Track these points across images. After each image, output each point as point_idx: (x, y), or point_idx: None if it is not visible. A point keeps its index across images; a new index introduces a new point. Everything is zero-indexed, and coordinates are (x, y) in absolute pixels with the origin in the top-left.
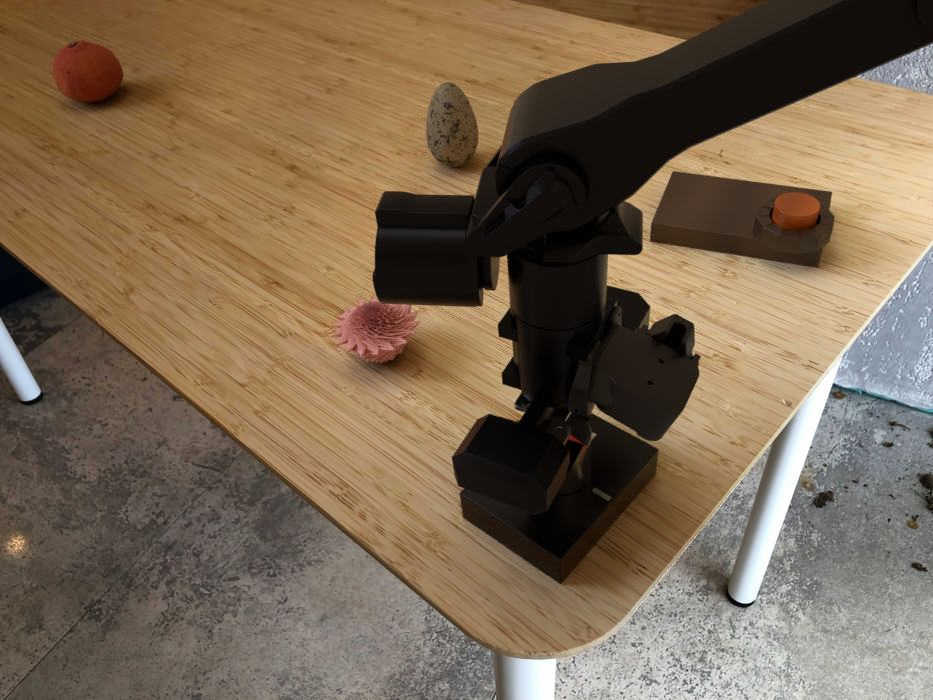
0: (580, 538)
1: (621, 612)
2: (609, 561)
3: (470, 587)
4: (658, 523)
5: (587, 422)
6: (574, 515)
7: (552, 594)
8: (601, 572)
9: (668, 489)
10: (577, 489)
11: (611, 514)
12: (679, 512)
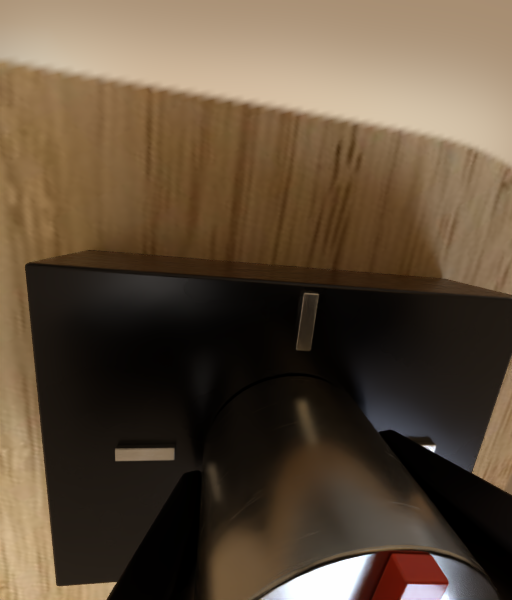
0: (452, 293)
1: (454, 142)
2: (358, 225)
3: (500, 395)
4: (215, 176)
5: (151, 568)
6: (397, 343)
7: (466, 280)
8: (388, 226)
9: (108, 202)
10: (328, 383)
11: (295, 273)
12: (155, 143)
